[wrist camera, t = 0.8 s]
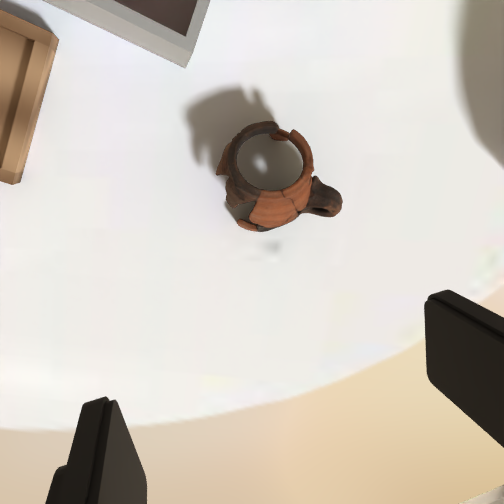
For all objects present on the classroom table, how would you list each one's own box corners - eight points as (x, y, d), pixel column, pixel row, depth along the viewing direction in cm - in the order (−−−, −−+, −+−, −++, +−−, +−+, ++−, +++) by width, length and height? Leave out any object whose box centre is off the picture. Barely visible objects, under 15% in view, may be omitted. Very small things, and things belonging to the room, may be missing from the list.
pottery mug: (207, 228, 38) (206, 197, 30) (227, 146, 40) (231, 97, 32) (322, 254, 38) (351, 231, 30) (335, 172, 41) (366, 130, 33)
